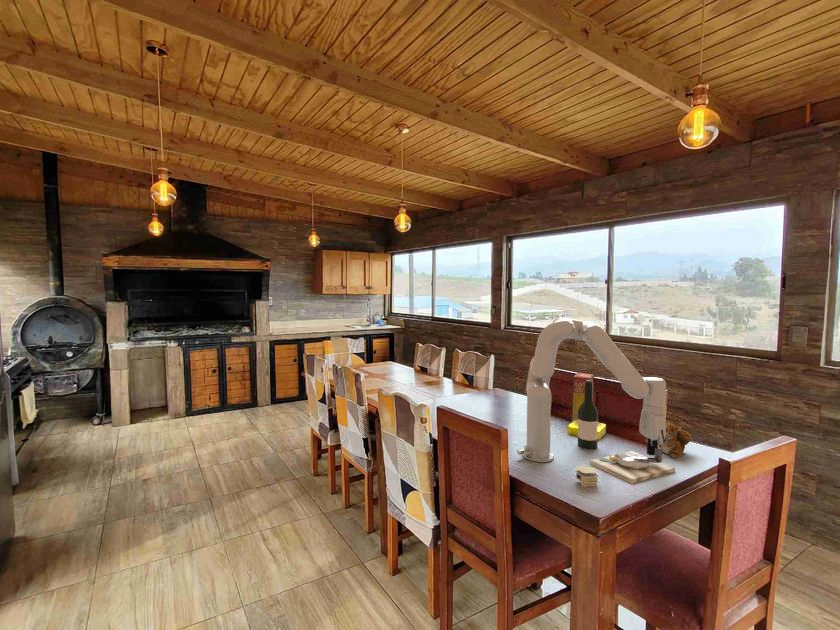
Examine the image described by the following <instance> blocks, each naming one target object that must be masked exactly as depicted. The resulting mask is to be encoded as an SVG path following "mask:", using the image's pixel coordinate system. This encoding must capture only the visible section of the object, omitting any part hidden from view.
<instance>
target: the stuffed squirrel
mask: <svg viewBox="0 0 840 630" xmlns="http://www.w3.org/2000/svg"><path fill="white" fill-rule="evenodd" d="M665 423H666V436H665V439H664V440H663V444H659V445H658V447H660V448H662V453H664V454H666V455H669V456H670V457H671V458H672V459H678V458H680V457H682V453H683V452H684V451H685V449H686V446H687V445H688V444H689V443H690V442H692V439H693V438H692V437H693V435H691V434H690V432H689V431H686V430H683V429H682V426H678V425H676V424H674V423H671V422H668V421H665Z"/></svg>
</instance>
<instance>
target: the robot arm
mask: <svg viewBox="0 0 840 630" xmlns="http://www.w3.org/2000/svg"><path fill="white" fill-rule="evenodd" d="M566 339H571V340H575V341H580V342H581V341H582V342H585V344H586V345H587V346H588V348H590V350H591V351H592V352H593V353H594V355H595V356H596V358H597V359H598V360H599V361H600V363H601V364H602V365H603V366H604V367H605V368H606V370H607V371H609V372H611V373H612V374H613V375H614V376H615V378H616V379H617V380H618V381H619V382H620V387H621V388H622V390H623V391H625V393H627V394H628V395H629V396H630V397H632V398H634V399H637V400H642V399H643V400H642V410H641V413H640V418H639V425H638V426H639V427H638V430H639V433H640V434H641V435H642V436H644V438H645V442H646V454H647V455H648V456H654V451H655V447H659V444H663V440H664V439H665V436H666V416H665V413H666V392H667V391H666V390H667V382H666V380H665V379H663V378H661V377H660V378H659V377H656V376H655V377H653V376H649V377H644V376H642V375H641V374H640V373H639V372H638V370H637V369H636V367H635V366H634V365H633V364H632V363H631V362H630V360H628V358H627V357H626V355H624V353H623V352H622V351H621V350H620V348H618V346H617V345H616V343H614V341H613V340H612V338H611V337H610V336H609V335H608V333H607V332H606V330H604V328H603V327H602V326H601V325H599V324H598V323H595V322H591V321H584V320H579V319H573V318H567V317H556V318H555V319H554V320H552V322H551V323H549V324H548V325H547V326H545V327H544V328H543V329H542V331H541V332H540V334H539V335H538V338H537V343H536V347H535V351H534V356H533V357H532V359H531V360H530V364H529V368H528V373H527V374H528V375H527V381H526V388H525V390H526V445H524V448H522V449H521V448H520V449H517V451H516V453H517V455H518V456H520V455H522V456H523V458H525V459H526V460H528V461H530V462H535V463H548V462H551V461H553V460H555V456H554V453H553V452H551V415H552V413H551V412H552V411H551V410H552V408H551V407H552V391H551V389H550V382H551V377H552V376H553V375H554V373H555V369H556V367H555V366H556V360H557V354H558V349H559V345H560V344H561V343H562V342H563V341H564V340H566Z"/></svg>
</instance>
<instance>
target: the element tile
mask: <svg viewBox="0 0 840 630" xmlns="http://www.w3.org/2000/svg"><path fill="white" fill-rule="evenodd" d="M606 428H607V424H605V423H603V422H598V439H597V441H599V440H601V439H602V438H603V437H604V435H605V434H606V433H607V429H606ZM567 434H568V435H571V436H576V437H578V419H576V420H574V421H573V422H572V421H571V422H570V423H569V424H568V425H567Z"/></svg>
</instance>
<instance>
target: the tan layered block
mask: <svg viewBox="0 0 840 630" xmlns="http://www.w3.org/2000/svg"><path fill="white" fill-rule="evenodd" d="M575 469H576V470H575V471H574V472H575V473H576V476H575V479H577V480H578V481H579V482H580V487H583V488H589V487H598V483H599V480H598V478H599V475H598V473H600V472H599V471H598V470H597V469H596V467H590V466H589V467H588V466H582V465H581V466H580V465H576V466H575Z"/></svg>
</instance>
